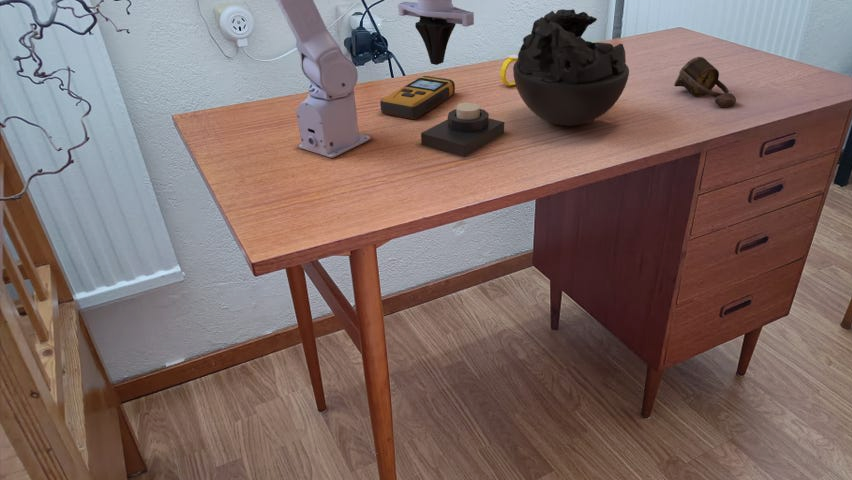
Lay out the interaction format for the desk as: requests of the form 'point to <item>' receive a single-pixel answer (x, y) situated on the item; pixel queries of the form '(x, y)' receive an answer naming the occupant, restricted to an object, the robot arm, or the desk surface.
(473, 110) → the power button
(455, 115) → the switch box
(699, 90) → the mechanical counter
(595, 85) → the coal bowl
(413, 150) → the desk surface
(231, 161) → the desk surface
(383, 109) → the electronic device
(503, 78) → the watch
